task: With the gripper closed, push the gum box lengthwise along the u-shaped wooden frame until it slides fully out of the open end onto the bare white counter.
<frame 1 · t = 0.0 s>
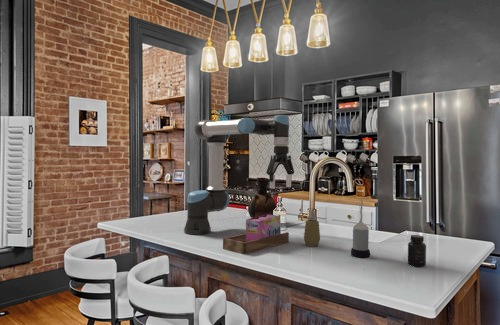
hand: (280, 187, 186), 28 cm above the countertop, fingers open, 13 cm apart
squeeze bottle: (311, 245, 181), on the countertop
supplement bottle: (416, 265, 150), on the countertop
ceramic vessel: (262, 223, 241), on the countertop
grey long nozzle bottle: (360, 256, 163), on the countertop
u-shaped wooden frame: (256, 245, 179), on the countertop
gum box: (263, 244, 183), on the countertop
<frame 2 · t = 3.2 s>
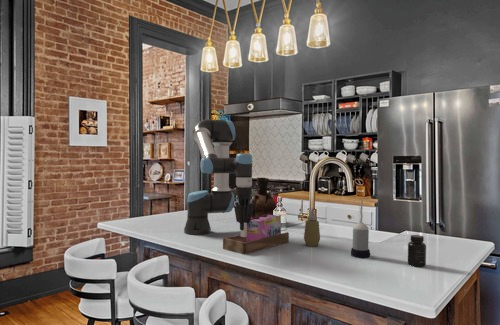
hand: (243, 236, 172), 6 cm above the countertop, fingers closed
gum box: (264, 244, 183), on the countertop, touching hand, u-shaped wooden frame
everything else where it was.
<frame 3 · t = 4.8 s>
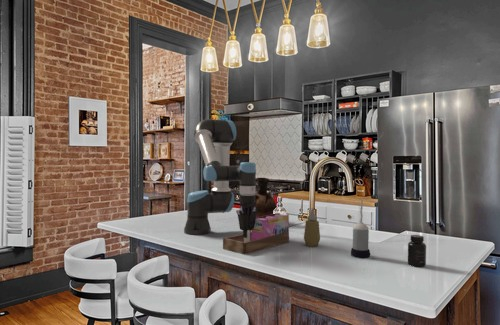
hand: (246, 244, 174), 2 cm above the countertop, fingers closed
gum box: (270, 243, 185), on the countertop, touching hand
everything else where it was.
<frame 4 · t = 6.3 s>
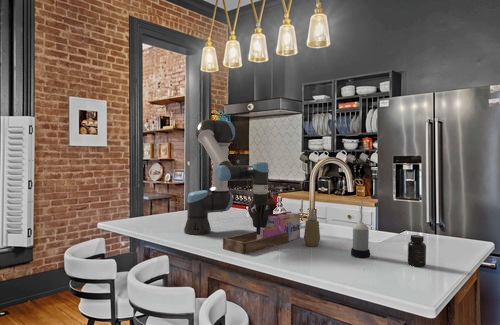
hand: (259, 240, 181), 2 cm above the countertop, fingers closed
gum box: (282, 240, 192), on the countertop, touching hand
everything else where it was.
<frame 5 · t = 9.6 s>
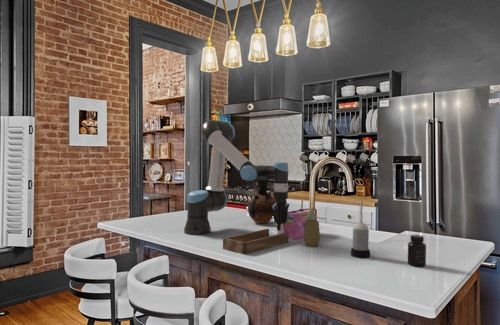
hand: (280, 235, 193), 2 cm above the countertop, fingers closed
gum box: (300, 235, 204), on the countertop, touching hand
everything else where it was.
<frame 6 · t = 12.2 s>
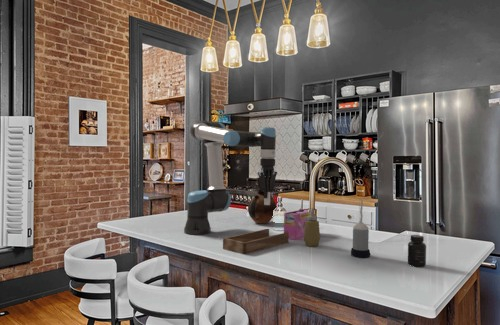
hand: (267, 204, 185), 19 cm above the countertop, fingers closed
gum box: (300, 236, 204), on the countertop
everything else where it was.
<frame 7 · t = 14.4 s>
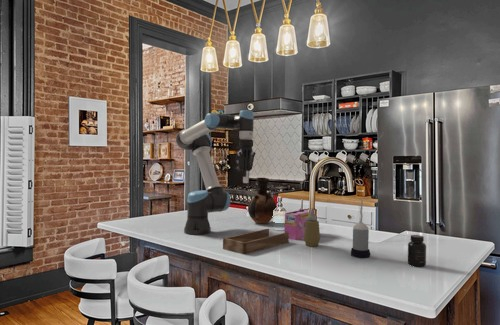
hand: (245, 182, 198), 29 cm above the countertop, fingers closed
nothing on the countertop moved.
at the end: gum box inside the target area (2.5 cm from its centre), on the countertop; gum box tilted 0°; gum box touching countertop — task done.
